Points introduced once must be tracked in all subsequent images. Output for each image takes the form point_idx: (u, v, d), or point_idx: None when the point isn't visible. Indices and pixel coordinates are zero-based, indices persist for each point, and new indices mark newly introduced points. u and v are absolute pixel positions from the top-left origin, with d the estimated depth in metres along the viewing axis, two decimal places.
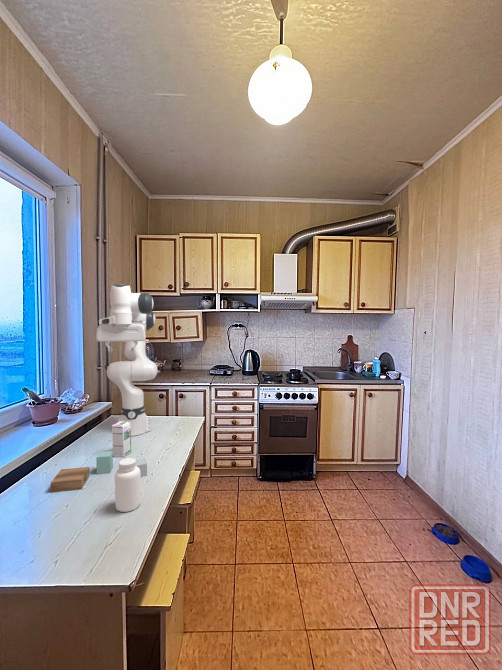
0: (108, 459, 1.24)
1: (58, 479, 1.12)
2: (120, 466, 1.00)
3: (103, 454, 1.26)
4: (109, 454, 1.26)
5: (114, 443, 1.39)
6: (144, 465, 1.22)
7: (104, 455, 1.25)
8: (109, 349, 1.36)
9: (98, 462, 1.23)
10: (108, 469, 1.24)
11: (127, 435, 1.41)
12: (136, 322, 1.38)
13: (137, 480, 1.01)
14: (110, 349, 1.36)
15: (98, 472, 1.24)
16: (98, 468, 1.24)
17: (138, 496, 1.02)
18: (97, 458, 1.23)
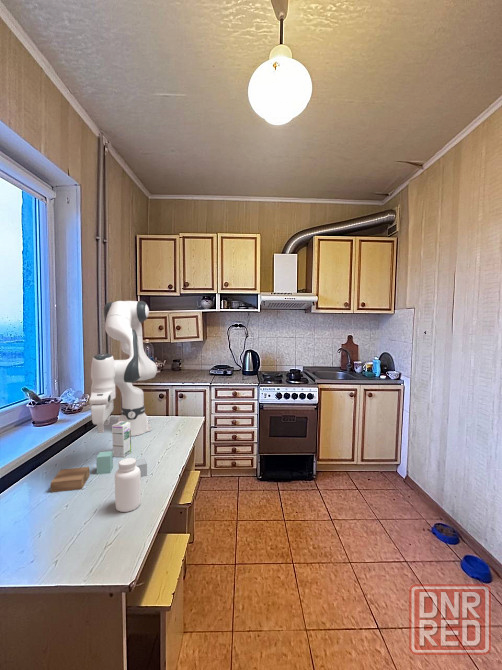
0: (108, 459, 1.24)
1: (58, 479, 1.12)
2: (120, 466, 1.00)
3: (103, 454, 1.26)
4: (109, 454, 1.26)
5: (114, 443, 1.39)
6: (144, 465, 1.22)
7: (104, 455, 1.25)
8: (103, 429, 1.21)
9: (98, 461, 1.23)
10: (108, 469, 1.24)
11: (127, 435, 1.41)
12: None
13: (137, 480, 1.01)
14: (103, 429, 1.21)
15: (98, 472, 1.24)
16: (98, 468, 1.24)
17: (138, 496, 1.02)
18: (97, 458, 1.23)
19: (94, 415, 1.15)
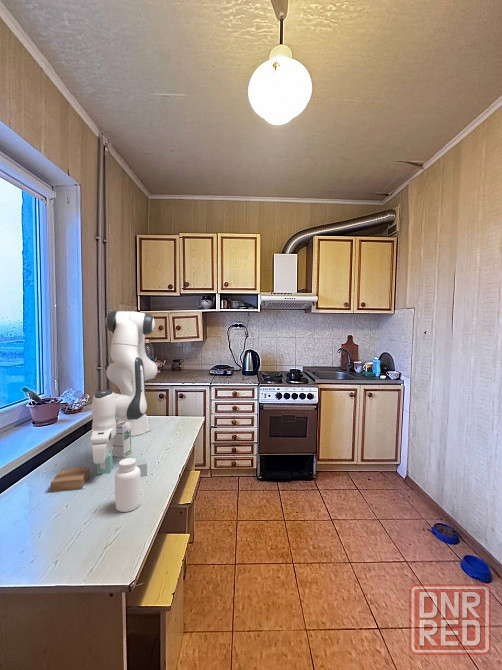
0: (108, 459, 1.24)
1: (58, 479, 1.12)
2: (120, 466, 1.00)
3: None
4: (109, 454, 1.26)
5: (114, 443, 1.39)
6: (144, 465, 1.22)
7: None
8: (105, 465, 1.23)
9: None
10: (108, 469, 1.24)
11: (127, 435, 1.41)
12: None
13: (137, 480, 1.01)
14: (105, 464, 1.24)
15: (98, 472, 1.24)
16: (98, 468, 1.24)
17: (138, 496, 1.02)
18: None
19: (95, 455, 1.16)
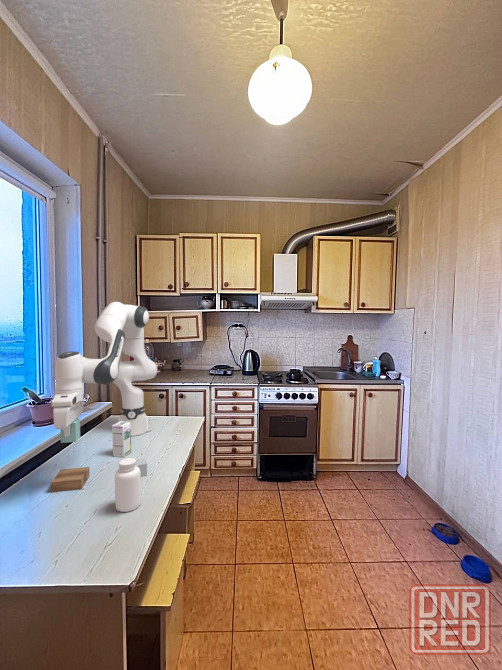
0: (73, 426, 1.13)
1: (58, 479, 1.12)
2: (120, 466, 1.00)
3: None
4: (75, 421, 1.15)
5: (114, 443, 1.39)
6: (144, 465, 1.22)
7: None
8: (70, 432, 1.12)
9: None
10: (74, 437, 1.14)
11: (127, 435, 1.41)
12: None
13: (137, 480, 1.01)
14: (70, 432, 1.13)
15: (62, 440, 1.13)
16: (62, 436, 1.13)
17: (138, 496, 1.02)
18: None
19: (56, 419, 1.05)
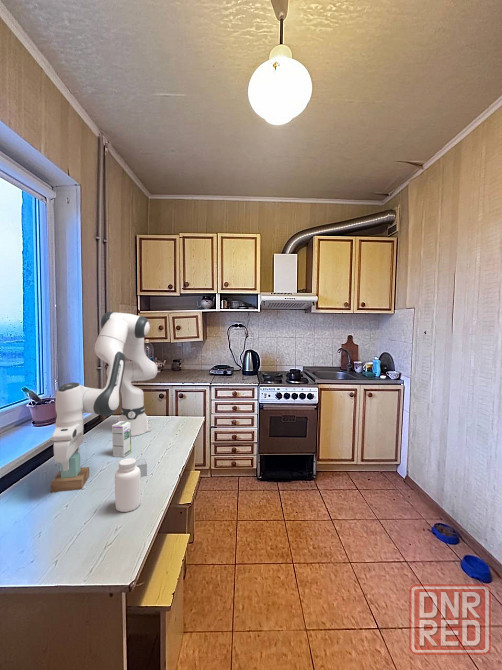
0: (73, 461, 1.14)
1: (58, 480, 1.12)
2: (120, 466, 1.00)
3: None
4: (75, 456, 1.16)
5: (114, 443, 1.39)
6: (144, 465, 1.22)
7: None
8: (68, 466, 1.12)
9: None
10: (74, 472, 1.14)
11: (127, 435, 1.41)
12: None
13: (137, 480, 1.01)
14: (69, 466, 1.12)
15: (63, 475, 1.14)
16: (62, 471, 1.13)
17: (138, 496, 1.02)
18: None
19: (56, 453, 1.06)
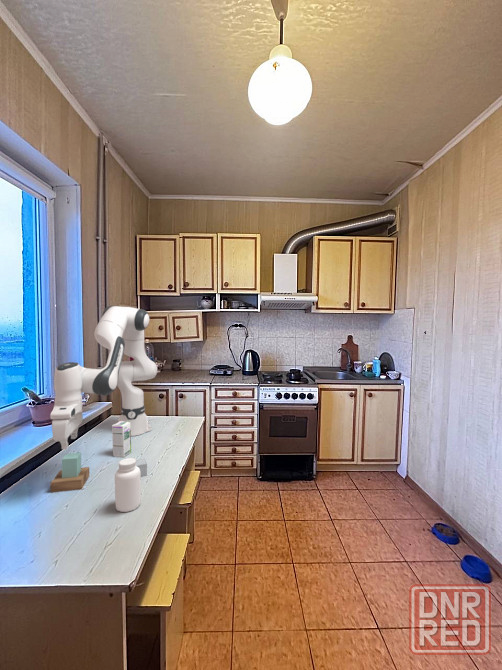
0: (75, 461, 1.14)
1: (58, 480, 1.12)
2: (120, 466, 1.00)
3: (70, 456, 1.16)
4: (76, 456, 1.16)
5: (114, 443, 1.39)
6: (144, 465, 1.22)
7: (70, 457, 1.14)
8: (67, 445, 1.11)
9: (63, 464, 1.13)
10: (75, 472, 1.14)
11: (127, 435, 1.41)
12: None
13: (137, 480, 1.01)
14: (67, 445, 1.12)
15: (63, 475, 1.14)
16: (63, 471, 1.13)
17: (138, 496, 1.02)
18: (62, 460, 1.13)
19: (55, 432, 1.06)
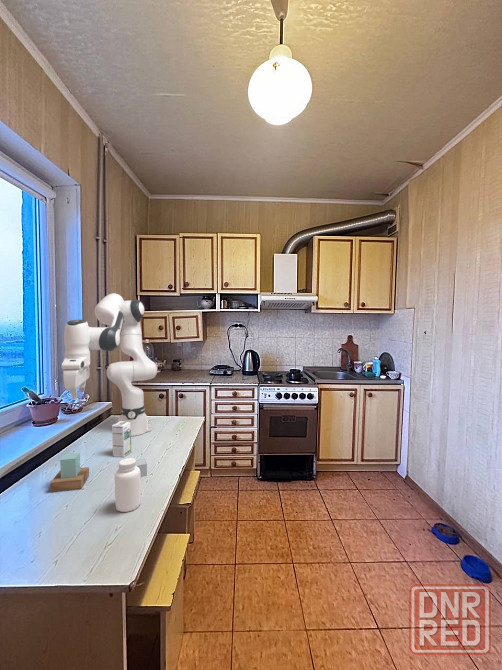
0: (73, 462, 1.14)
1: (58, 480, 1.12)
2: (120, 466, 1.00)
3: (68, 456, 1.15)
4: (75, 456, 1.16)
5: (114, 443, 1.39)
6: (144, 465, 1.22)
7: (69, 458, 1.14)
8: (77, 395, 1.20)
9: (62, 464, 1.13)
10: (73, 472, 1.14)
11: (127, 435, 1.41)
12: None
13: (137, 480, 1.01)
14: (77, 395, 1.20)
15: (62, 476, 1.13)
16: (62, 472, 1.13)
17: (138, 496, 1.02)
18: (61, 461, 1.13)
19: (66, 380, 1.14)
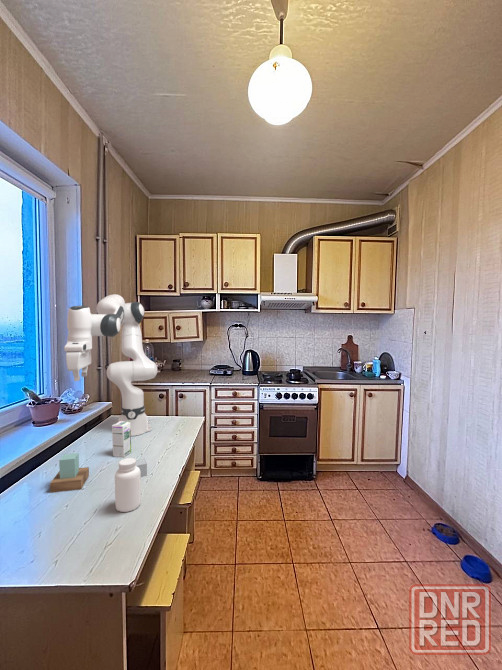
0: (72, 462, 1.14)
1: (57, 480, 1.12)
2: (120, 466, 1.00)
3: (67, 457, 1.15)
4: (74, 456, 1.15)
5: (114, 443, 1.39)
6: (144, 465, 1.22)
7: (68, 458, 1.14)
8: (79, 377, 1.24)
9: (61, 465, 1.13)
10: (72, 473, 1.14)
11: (127, 435, 1.41)
12: None
13: (137, 480, 1.01)
14: (79, 377, 1.24)
15: (61, 476, 1.13)
16: (61, 472, 1.13)
17: (138, 496, 1.02)
18: (60, 461, 1.13)
19: (69, 362, 1.18)
